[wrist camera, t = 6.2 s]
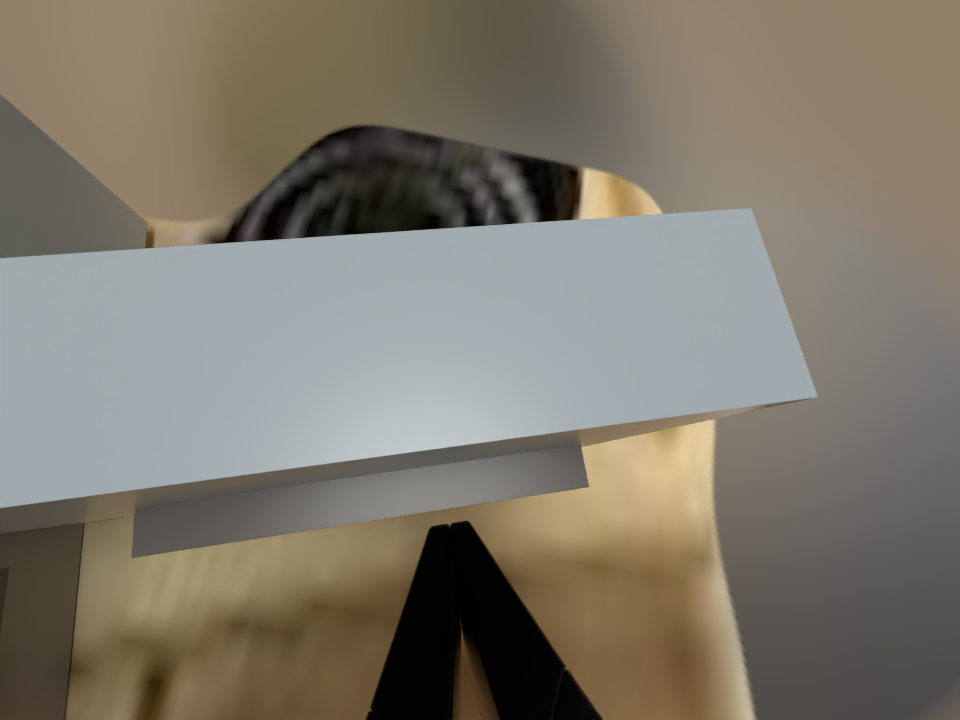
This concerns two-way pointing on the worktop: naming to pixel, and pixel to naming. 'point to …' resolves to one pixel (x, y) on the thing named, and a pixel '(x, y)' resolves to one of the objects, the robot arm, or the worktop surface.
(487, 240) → the grey bookend
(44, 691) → the camera case
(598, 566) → the worktop surface
